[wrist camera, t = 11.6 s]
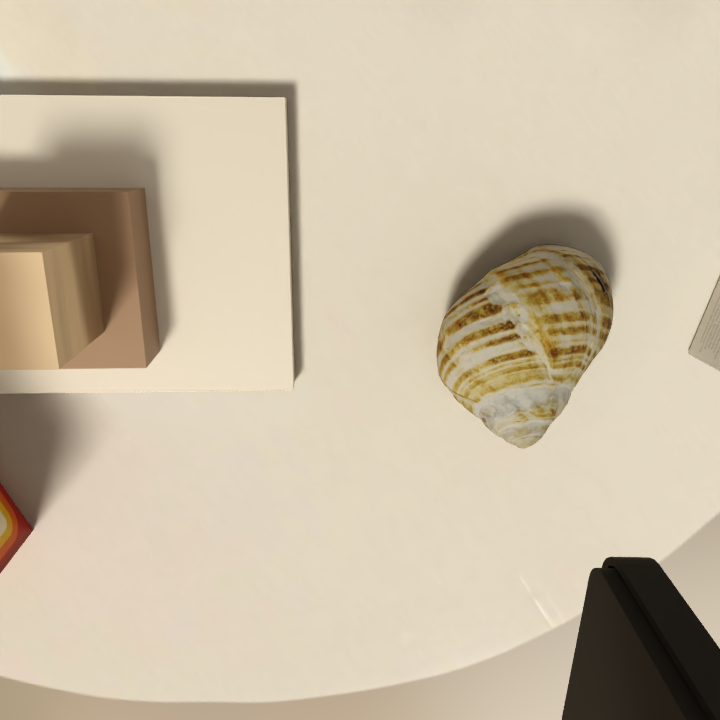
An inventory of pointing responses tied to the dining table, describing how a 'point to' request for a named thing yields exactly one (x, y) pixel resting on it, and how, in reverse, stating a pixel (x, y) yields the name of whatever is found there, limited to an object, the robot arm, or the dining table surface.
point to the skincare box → (709, 333)
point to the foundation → (161, 235)
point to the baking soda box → (11, 528)
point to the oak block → (47, 299)
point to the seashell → (525, 339)
